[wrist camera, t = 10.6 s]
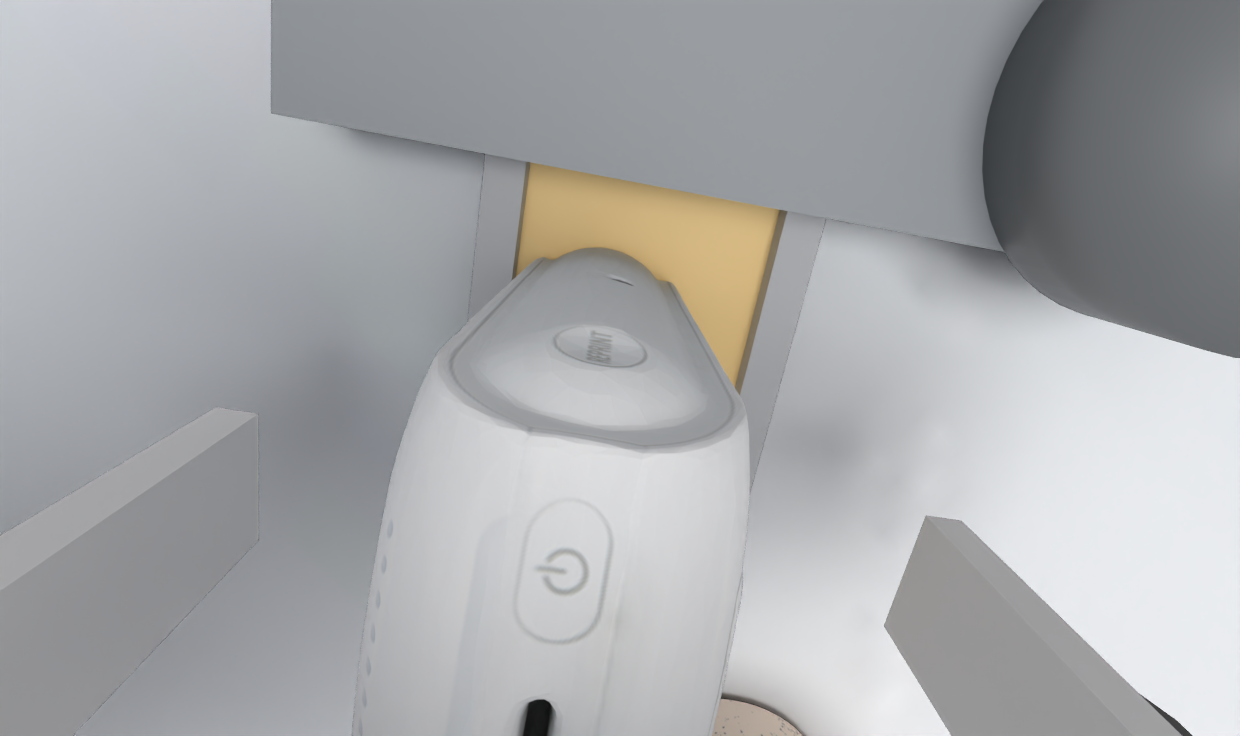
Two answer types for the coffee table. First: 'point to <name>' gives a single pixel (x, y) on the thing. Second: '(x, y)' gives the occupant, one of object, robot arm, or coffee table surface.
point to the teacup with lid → (749, 721)
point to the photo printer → (562, 520)
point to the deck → (814, 142)
